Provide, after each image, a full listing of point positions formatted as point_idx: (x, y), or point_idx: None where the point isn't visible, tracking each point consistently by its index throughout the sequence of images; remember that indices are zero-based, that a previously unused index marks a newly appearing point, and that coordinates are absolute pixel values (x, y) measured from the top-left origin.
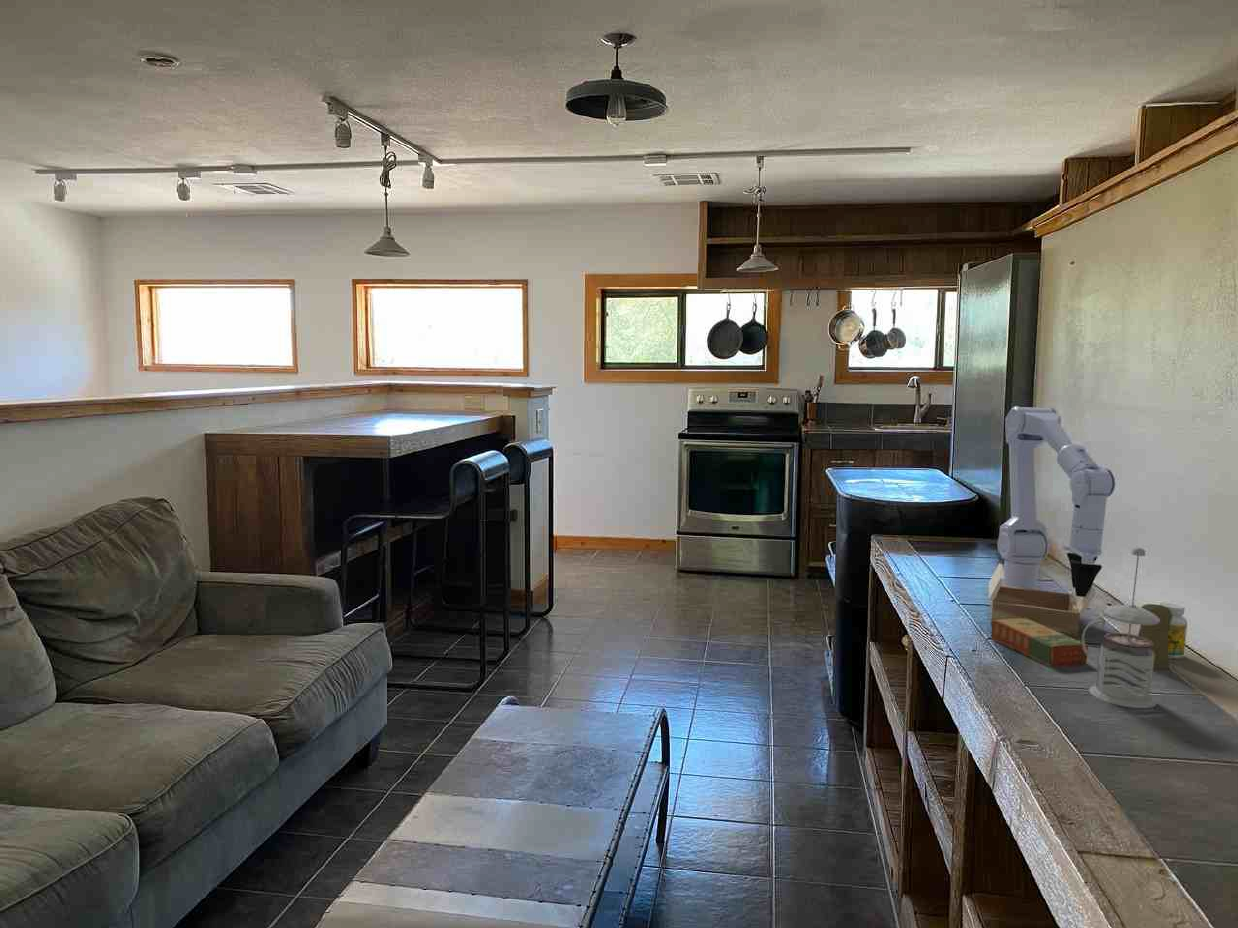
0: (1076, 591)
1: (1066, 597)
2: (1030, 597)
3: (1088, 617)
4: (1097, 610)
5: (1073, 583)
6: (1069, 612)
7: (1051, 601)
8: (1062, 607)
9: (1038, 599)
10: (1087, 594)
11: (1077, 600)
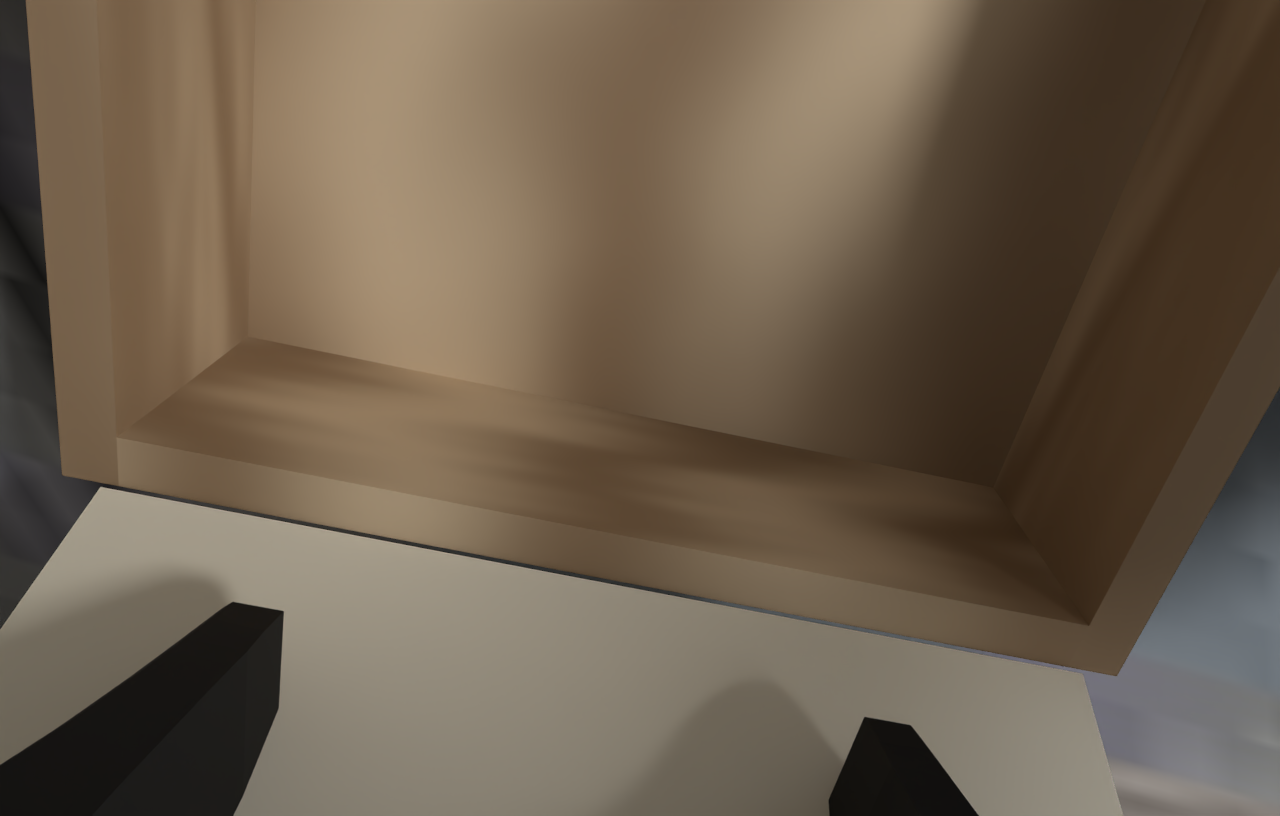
0: (181, 646)
1: (1078, 576)
2: (1264, 108)
3: (1013, 658)
4: (1263, 793)
5: (879, 771)
6: (58, 353)
7: (1118, 382)
8: (1035, 474)
9: (1202, 223)
10: None
11: (617, 617)
